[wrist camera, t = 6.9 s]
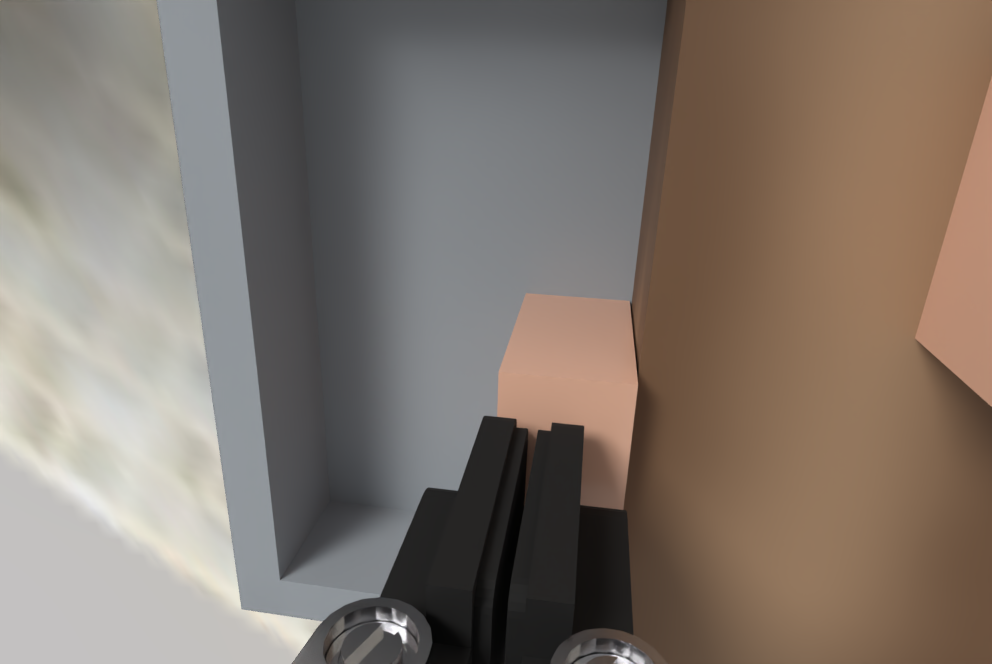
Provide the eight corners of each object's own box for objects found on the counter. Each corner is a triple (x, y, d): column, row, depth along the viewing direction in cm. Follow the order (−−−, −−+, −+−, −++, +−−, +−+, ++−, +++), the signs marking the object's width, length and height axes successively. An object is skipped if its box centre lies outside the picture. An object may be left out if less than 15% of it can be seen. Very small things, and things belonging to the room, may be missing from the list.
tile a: (638, 384, 10) (498, 371, 11) (614, 585, 12) (492, 569, 12) (629, 300, 14) (525, 292, 14) (612, 462, 16) (518, 453, 16)
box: (681, -141, 12) (709, -217, 8) (600, 551, 17) (599, 662, 14) (248, -141, 13) (126, -209, 9) (305, 513, 18) (241, 609, 15)
